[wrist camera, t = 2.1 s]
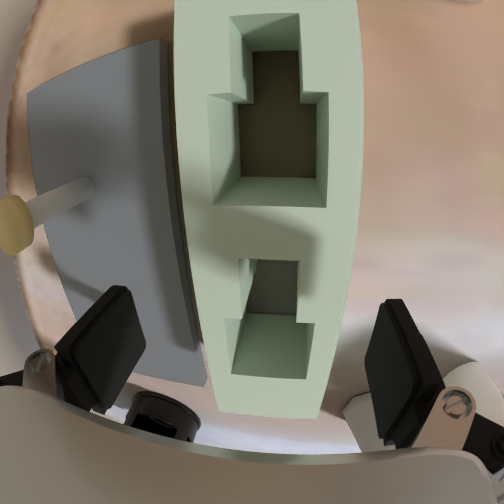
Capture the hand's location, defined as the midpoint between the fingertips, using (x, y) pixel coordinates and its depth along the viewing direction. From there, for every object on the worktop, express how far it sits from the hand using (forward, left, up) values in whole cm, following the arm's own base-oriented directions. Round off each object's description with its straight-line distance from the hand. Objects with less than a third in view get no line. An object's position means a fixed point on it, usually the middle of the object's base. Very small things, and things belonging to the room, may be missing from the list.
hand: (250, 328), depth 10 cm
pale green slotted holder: (-1, 0, -9) cm, 9 cm away
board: (+1, -13, -9) cm, 15 cm away
